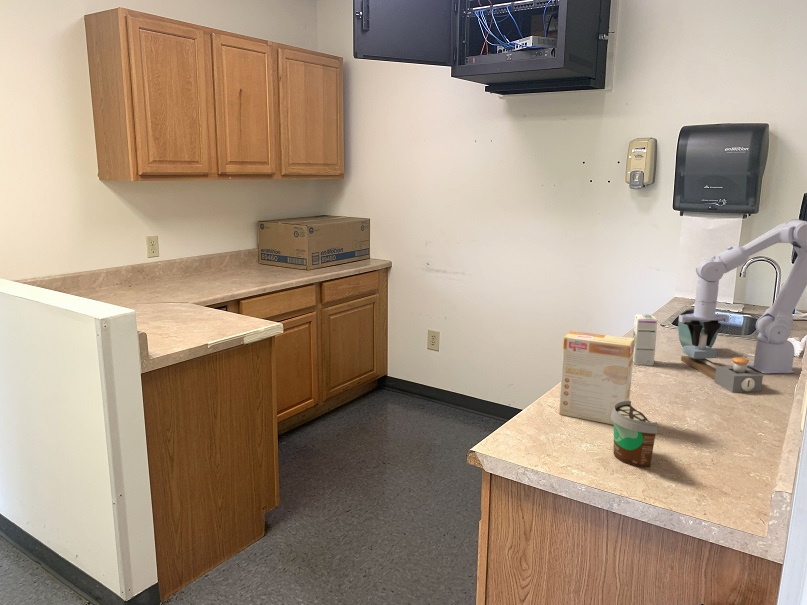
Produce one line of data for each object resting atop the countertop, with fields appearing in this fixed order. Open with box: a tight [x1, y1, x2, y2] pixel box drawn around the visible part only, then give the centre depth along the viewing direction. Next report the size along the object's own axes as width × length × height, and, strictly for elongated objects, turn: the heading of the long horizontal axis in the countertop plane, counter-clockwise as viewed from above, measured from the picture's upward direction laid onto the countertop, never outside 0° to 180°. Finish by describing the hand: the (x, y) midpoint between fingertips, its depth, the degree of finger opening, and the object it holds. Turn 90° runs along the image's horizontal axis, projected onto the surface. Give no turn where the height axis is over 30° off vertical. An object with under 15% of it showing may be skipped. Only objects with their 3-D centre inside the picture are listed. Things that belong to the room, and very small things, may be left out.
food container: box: [611, 400, 659, 469], centre depth 122 cm, size 12×6×10 cm, turn 5°
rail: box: [680, 355, 720, 381], centre depth 177 cm, size 6×18×2 cm, turn 5°
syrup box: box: [632, 313, 658, 367], centre depth 182 cm, size 6×6×14 cm
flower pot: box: [677, 321, 720, 348], centre depth 194 cm, size 9×9×9 cm
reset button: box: [732, 357, 750, 374], centre depth 162 cm, size 4×4×4 cm
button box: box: [714, 365, 764, 393], centre depth 163 cm, size 8×8×4 cm
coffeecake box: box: [558, 330, 635, 426], centre depth 142 cm, size 15×7×20 cm, turn 61°
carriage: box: [682, 333, 718, 359], centre depth 180 cm, size 7×6×7 cm
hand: (700, 345), depth 180 cm, fingers closed on carriage, 3 cm apart
